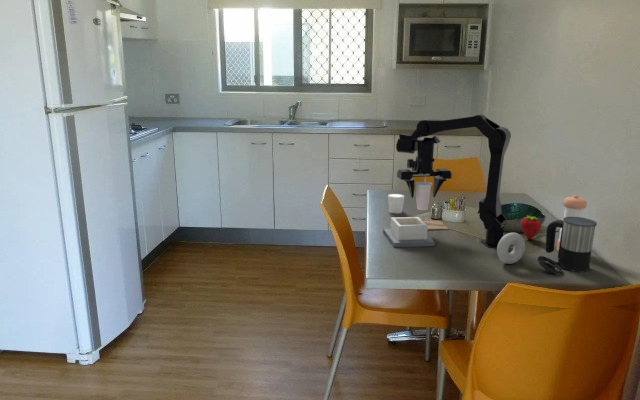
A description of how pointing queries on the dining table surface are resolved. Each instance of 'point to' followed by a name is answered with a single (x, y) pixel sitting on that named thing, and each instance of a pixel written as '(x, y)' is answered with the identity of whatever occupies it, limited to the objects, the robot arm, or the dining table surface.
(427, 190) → the smoothie
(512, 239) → the donut
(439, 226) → the coaster
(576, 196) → the pepper shaker
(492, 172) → the robot arm
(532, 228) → the strawberry
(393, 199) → the shot glass
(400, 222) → the white open box
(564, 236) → the milk frother
